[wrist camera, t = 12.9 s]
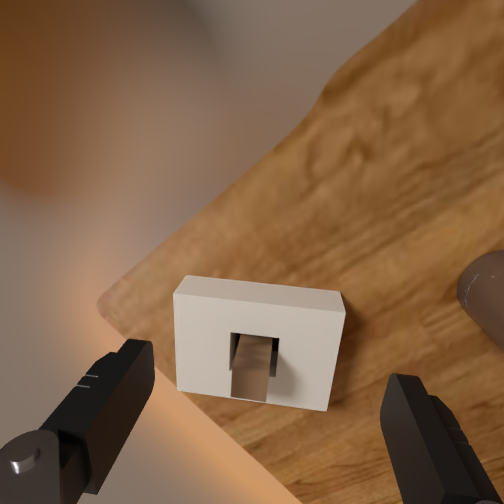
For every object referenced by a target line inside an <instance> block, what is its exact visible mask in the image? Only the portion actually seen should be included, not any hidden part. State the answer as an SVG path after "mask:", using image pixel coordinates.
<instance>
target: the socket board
mask: <svg viewBox="0 0 504 504" xmlns="http://www.w3.org/2000/svg"><path fill="white" fill-rule="evenodd" d="M173 301H174V325H175V350H176V374H177V390H178V391H185V392H192V393H199V394H206V395H213V396H220V397H227V398H234V397H231V379H232V367H233V363H234V359H235V355H236V351H237V348H238V346H236V333H241V334H249V335H258V336H266V337H274V338H279V342H278V351H271V360H270V370H269V379H268V388H267V398H266V402H262V403H269V404H276V405H283V406H290V407H297V408H305V409H312V410H319V411H326V412H327V407H328V401H329V396H330V391H331V386H332V381H333V376H334V371H335V366H336V360H337V355H338V350H339V345H340V340H341V335H342V330H343V325H344V319H345V314H346V312H345V308H344V305H343V301H342V298H341V294H340V291H331V290H321V289H312V288H303V287H293V286H284V285H275V284H265V283H256V282H247V281H237V280H228V279H219V278H209V277H200V276H191V275H186V276H185V278H184V279H183V281H182V282H181V283H180V285H179V286H178V287H177V289H176V290H175V291H174V293H173ZM234 399H241V398H234ZM241 400H248V399H241ZM248 401H254V400H248ZM255 402H261V401H255Z"/></svg>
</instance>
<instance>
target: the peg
mask: <svg viewBox="0 0 504 504" xmlns="http://www.w3.org/2000/svg"><path fill="white" fill-rule="evenodd" d="M272 340H273V337H266V336H258V335H249V334H241V336H240V340H239V344H238V348H237V351H236V355H235V359H234V363H233V367H232V379H231V397H234V398H241V399H248V400H254V401H261V402H266V398H267V388H268V379H269V370H270V360H271V350H272Z"/></svg>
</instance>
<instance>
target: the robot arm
mask: <svg viewBox="0 0 504 504" xmlns="http://www.w3.org/2000/svg"><path fill="white" fill-rule="evenodd" d="M457 297H458V300H459V303H460V304H461V306H462V307H463V309H464V310H465V311H466V312H467V313H468V314H469V315H470V316H471V317H472V318H473V319H474V320H475V321H476V322H477V324H478V325H479V326H480V327H481V328H482V329H483V330H484V331H485V332H486V333H487V334H488V335H489V336H490V337H491V339H492V340H493V341H494V342H495V343H496V344H497V345H498V346H499V347H500V348H501V349H502V350H503V351H504V250H502V251H497V252H493V253H490V254H487V255H485V256H483V257H481V258H479V259H478V260H476V261H475V262H473V263H472V264H471V265H470V266H469V267H468V268H467V269H466V270H465V272H464V273H463V274H462V276H461V278H460V280H459V283H458V288H457ZM154 381H155V371H154V356H153V345H152V342H151V341H145V340H137V339H128V340H127V341H126V342H125V343H124V344H123V346H122V347H121V348H120V349H119V351H118V352H117V353H115V352H110V353H108V354H106V355H105V356H104V357H102V358H100V359H99V360H97V361H96V362H95V363H94V364H93V365H92V367H91V368H90V369H89V370H88V371H87V373H86V375H85V376H83V377H82V378H81V380H80V381H79V382H78V383H77V386H76V387H74V388H73V389H72V390H71V391H70V393H69V394H68V395H67V396H66V397H65V399H64V400H63V401H62V402H61V403H60V405H59V406H58V407H57V408H56V409H55V410H54V412H53V413H52V414H51V415H50V416H49V417H48V419H47V420H46V421H45V422H44V423H43V425H42V426H41V427H40V428H39V429H38V430H33V431H30V432H26V433H24V434H21V435H19V436H17V437H15V438H14V439H12V440H11V441H10V442H8V443H7V444H5V445H4V446H3V447H2V448H1V449H0V504H77V502H78V500H79V498H80V496H81V495H82V493H83V492H84V493H90V494H95V495H97V494H98V492H99V490H100V488H101V486H102V484H103V483H104V481H105V479H106V477H107V475H108V473H109V471H110V469H111V468H112V466H113V464H114V462H115V460H116V458H117V456H118V455H119V453H120V451H121V449H122V447H123V445H124V443H125V441H126V440H127V438H128V436H129V434H130V432H131V430H132V429H133V427H134V425H135V423H136V421H137V419H138V417H139V415H140V414H141V412H142V410H143V408H144V406H145V404H146V402H147V400H148V399H149V397H150V395H151V393H152V390H153V386H154ZM380 423H381V429H382V432H383V436H384V439H385V442H386V446H387V449H388V453H389V456H390V459H391V463H392V466H393V470H394V473H395V476H396V480H397V483H398V487H399V490H400V493H401V497H402V500H403V504H503V502H502V500H501V499H500V497H499V495H498V493H497V491H496V490H495V488H494V486H493V484H492V483H491V481H490V479H489V477H488V475H487V474H486V472H485V470H484V468H483V467H482V465H481V463H480V461H479V459H478V458H477V456H476V454H475V452H474V450H473V449H472V447H471V445H469V444H468V440H467V438H466V436H465V434H464V433H463V431H461V427H460V425H459V424H458V422H457V420H456V418H455V417H454V415H453V413H452V411H451V410H450V409H449V408H448V407H447V406H446V405H445V404H444V403H443V402H442V401H441V400H440V399H439V398H438V397H437V396H432V395H428V393H427V391H426V389H425V387H424V385H423V383H422V382H421V380H420V378H419V377H418V376H412V375H404V374H396V373H392V374H391V375H390V377H389V381H388V384H387V388H386V391H385V395H384V399H383V402H382V406H381V411H380Z"/></svg>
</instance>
